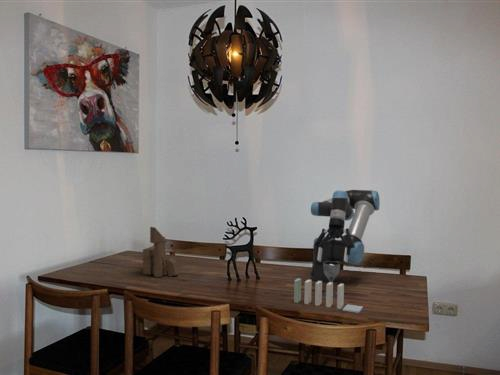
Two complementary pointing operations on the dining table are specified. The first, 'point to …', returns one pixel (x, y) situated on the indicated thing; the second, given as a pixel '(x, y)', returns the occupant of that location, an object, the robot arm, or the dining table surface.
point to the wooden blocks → (158, 257)
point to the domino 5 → (340, 296)
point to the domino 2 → (308, 291)
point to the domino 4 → (329, 294)
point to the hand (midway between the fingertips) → (332, 261)
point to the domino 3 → (318, 293)
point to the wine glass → (331, 271)
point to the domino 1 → (297, 290)
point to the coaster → (352, 308)
